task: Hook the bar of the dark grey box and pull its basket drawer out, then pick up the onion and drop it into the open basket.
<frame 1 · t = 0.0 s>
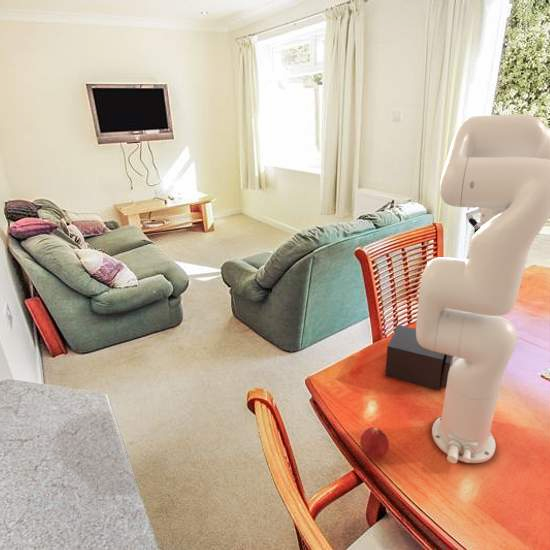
hand: (496, 243, 105), 31 cm above the table, tool pointing down, fingers open, 9 cm apart
dark grey box: (415, 370, 105), on the table
onion: (373, 456, 81), on the table
basket: (436, 360, 101), point 5 cm above the table, slide at 0.5 cm
portable speaker: (462, 342, 116), on the table
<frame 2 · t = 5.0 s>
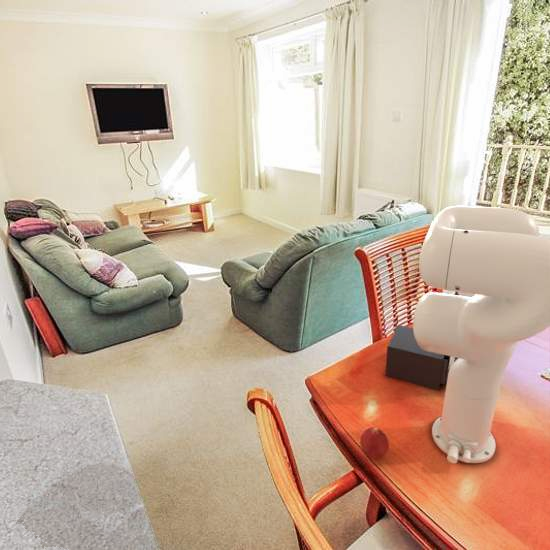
hand: (469, 366, 97), 5 cm above the table, tool pointing down, fingers closed
basket: (444, 362, 100), point 5 cm above the table, slide at 2.4 cm
everything else where it was.
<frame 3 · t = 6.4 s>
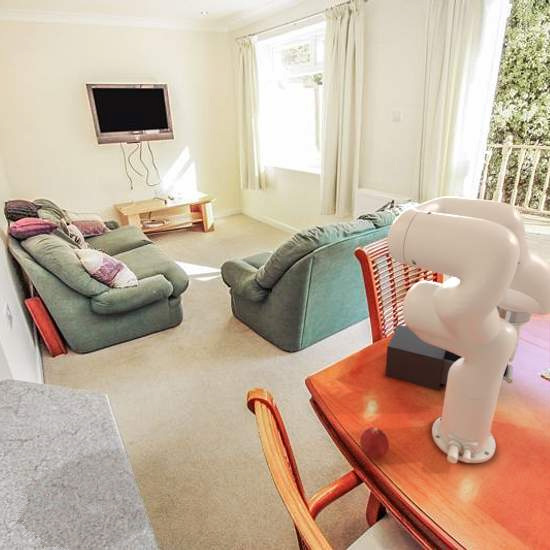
hand: (497, 374, 94), 5 cm above the table, tool pointing down, fingers closed
basket: (471, 369, 97), point 5 cm above the table, slide at 8.9 cm, touching gripper
everything else where it was.
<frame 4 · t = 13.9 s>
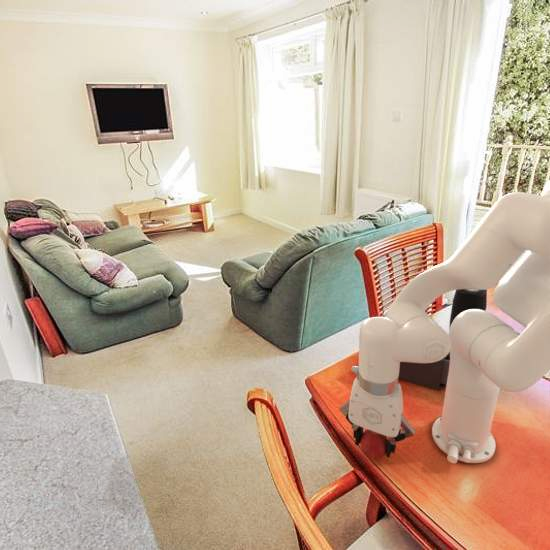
hand: (374, 445, 79), 3 cm above the table, tool pointing down, fingers closed on onion, 5 cm apart
onion: (373, 456, 81), on the table, touching gripper
basket: (471, 369, 97), point 5 cm above the table, slide at 9.0 cm
everything else where it was.
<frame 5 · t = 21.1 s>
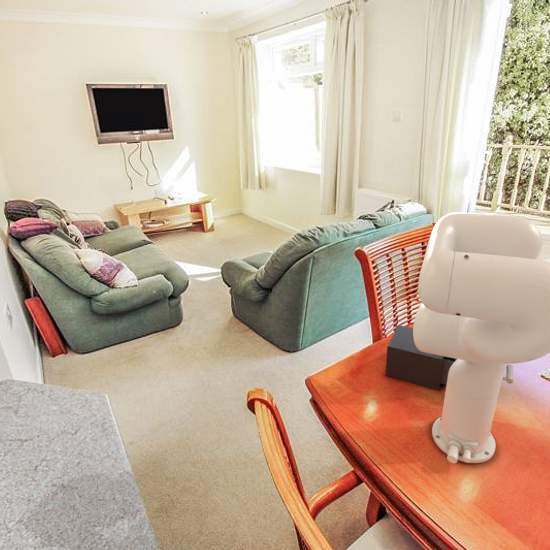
hand: (469, 355, 95), 9 cm above the table, tool pointing down, fingers closed on onion, 5 cm apart
onion: (467, 365, 97), point 6 cm above the table, touching gripper
everything else where it was.
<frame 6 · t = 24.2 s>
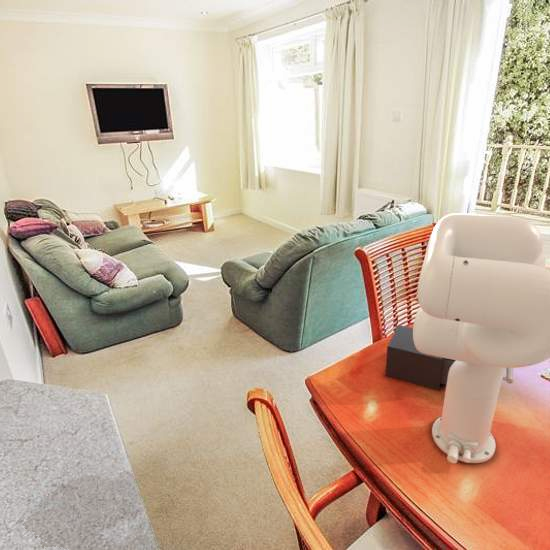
hand: (469, 351, 95), 10 cm above the table, tool pointing down, fingers closed on onion, 5 cm apart
onion: (468, 361, 96), point 7 cm above the table, touching gripper
everything else where it was.
when the fingers open (11 cm above the table, at t = 34.8 s): onion drops 5 cm, resting on basket, dark grey box.
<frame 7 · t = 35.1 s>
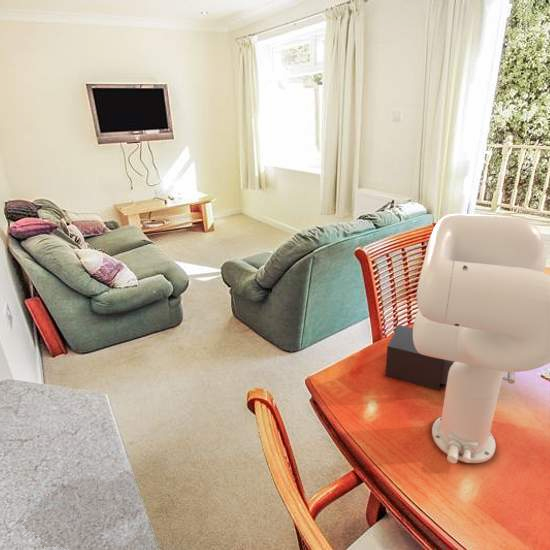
hand: (471, 344, 94), 12 cm above the table, tool pointing down, fingers open, 8 cm apart
onion: (465, 374, 98), point 3 cm above the table, touching basket, dark grey box
basket: (472, 369, 97), point 5 cm above the table, slide at 9.3 cm, touching onion
everything else where it was.
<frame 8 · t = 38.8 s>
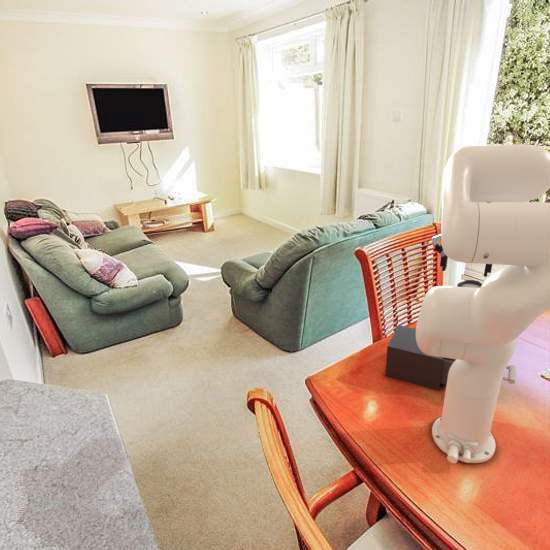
hand: (464, 271, 96), 28 cm above the table, tool pointing down, fingers open, 9 cm apart
nothing on the table moved.
at the end: basket slide at 9.5 cm; onion inside the target area in the basket (0.1 cm from its centre), point 2.9 cm above the dark grey box's base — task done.
